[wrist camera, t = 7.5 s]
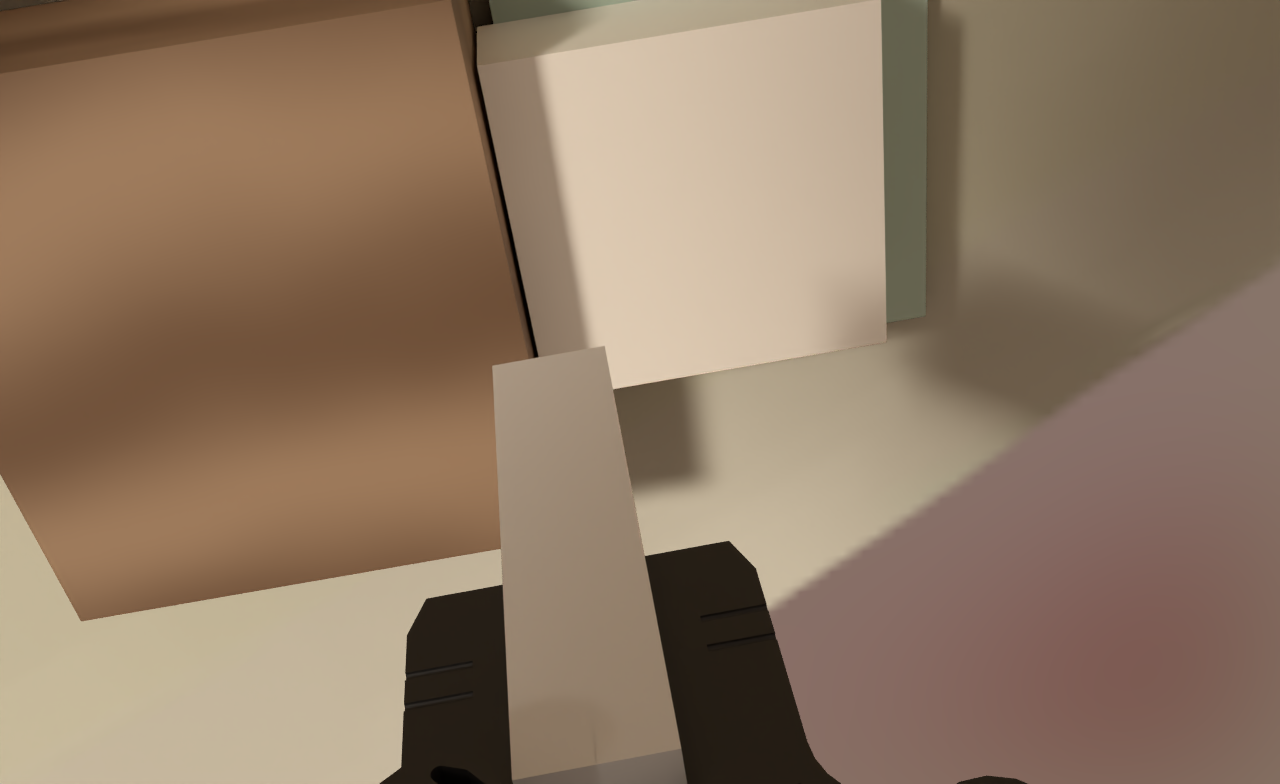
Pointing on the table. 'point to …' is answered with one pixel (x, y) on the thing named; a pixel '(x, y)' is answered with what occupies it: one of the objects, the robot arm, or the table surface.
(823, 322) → the tile
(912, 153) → the mat
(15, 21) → the brown flat block
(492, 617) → the robot arm
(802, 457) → the table surface
